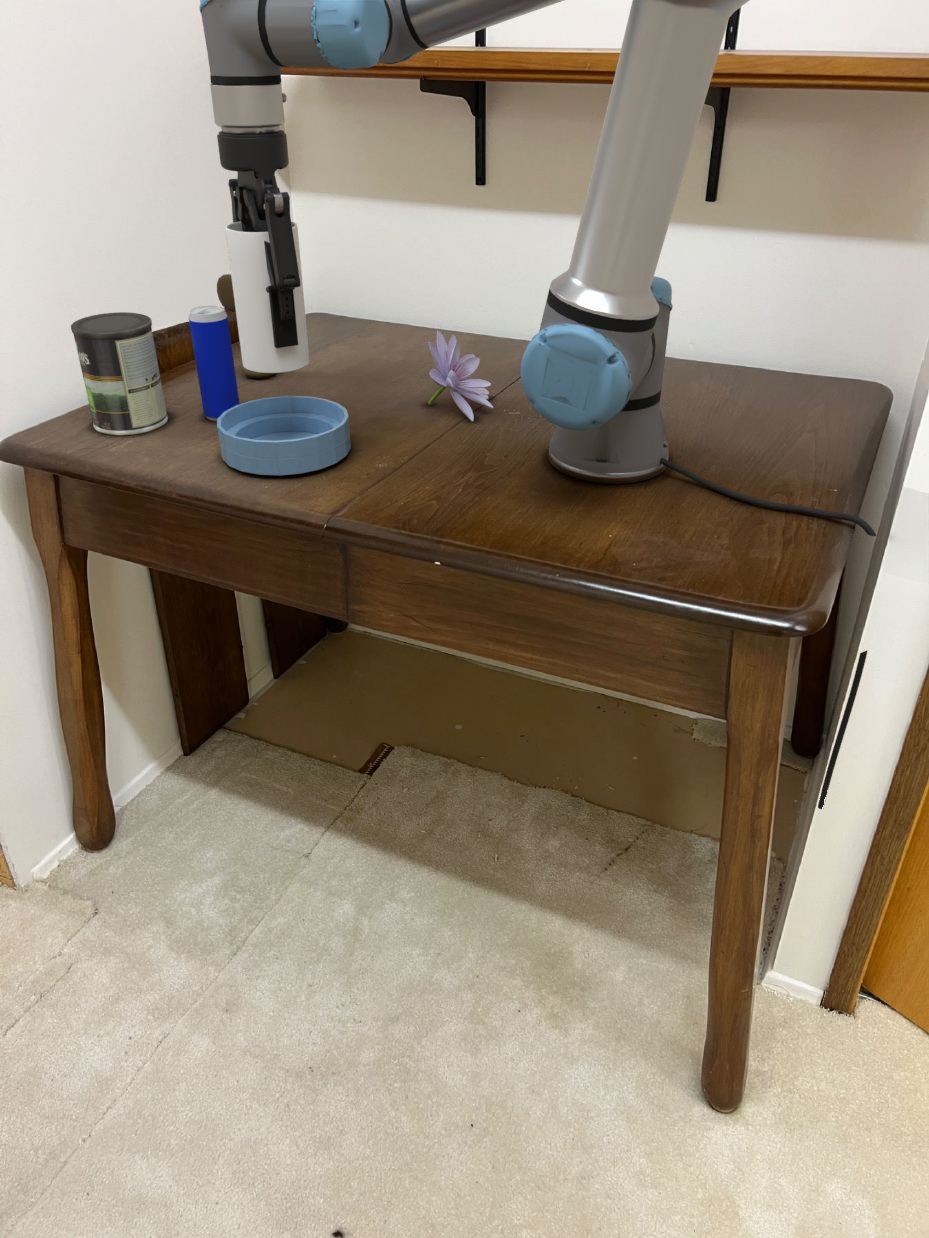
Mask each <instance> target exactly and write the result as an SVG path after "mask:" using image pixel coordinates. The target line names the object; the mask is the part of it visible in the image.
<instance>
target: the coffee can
mask: <svg viewBox="0 0 929 1238" xmlns="http://www.w3.org/2000/svg"><path fill="white" fill-rule="evenodd" d="M152 327H153V322H152V318H151V317H149V316H148V315H145V314H142V313H138V312H122V311H121V312H120V311H119V312H106V313H99V314H92V315H89V316H85V317H82V318H80V319H77V320H75V321H73V322H72V323H71V325H70V330H71V333H72V334H73V339H74V343H75V348H76V352H77V355H78V360H79V365H80V370H81V374H82V377H83V379H82V380H83V384H84V387H85V391H86V396H87V400H88V405H89V408H90V414H91V419H92V425H93V428H94V430H95V431H96V432H98V433H101V434H105V435H109V436H133V435H140V434H144V433H148V432H152V431H154V430H157V429H159V428H161V427H163V426H164V425H166V424H167V423H168V420H169V416H168V413H167V407H166V402H165V395H164V390H163V385H162V379H161V372H160V368H159V362H158V357H157V350H156V346H155V339H154V334H153V328H152Z"/></svg>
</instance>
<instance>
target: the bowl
mask: <svg viewBox="0 0 929 1238" xmlns="http://www.w3.org/2000/svg"><path fill="white" fill-rule="evenodd" d="M216 429H217V436H218V440H219V441H218V442H219V448H220V456H221V459H222V460H223V461H224V463H225V464H226V465H227V466H228V467H230V468H233V469H235V470H237V471H239V472H243V473H248V474H253V475H259V476H289V475H290V476H291V475H301V474H305V473H312V472H315V471H319V470H322V469H323V470H324V469H326V468H327V467H330V466H333V465H335V464H337V463H339V462H340V461H341V460H343V459H344V458H346V457H347V456H348V454H349V452H350V450H351V449H352V443H351V430H350V418H349V412H348V410H347V408H345V407H344V406H343V405H342V404H340V403H338V402H336V401H332V400H330V399H326V398H322V397H317V396H309V395H281V396H269V397H264V398H259V399H252V400H248V401H246V402H242V403H240V404H239V405H236V406H234V407H232V408H230V409H228V410H227V411H225V412H223V413H222V415H221V416H220V417H219V418H218V419H217V421H216Z"/></svg>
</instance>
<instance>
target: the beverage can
mask: <svg viewBox="0 0 929 1238" xmlns="http://www.w3.org/2000/svg"><path fill="white" fill-rule="evenodd" d="M188 324H189V329H190V336H191V342H192V348H193V349H192V350H193V355H194V362H195V366H196V372H197V373H196V374H197V380H198V386H199V390H200V391H199V392H200V398H201V404H202V405H201V406H202V411H203V415H204V417H206V419H208V420H210V421H212V422H217V419H218V418H219V417H220V416H221V415H222V413H223V412H225V411H227V410H228V409H230V408H232V407H234V406H236V405H239V404H241V403H240V397H239V389H238V382H237V375H236V368H235V359H234V353H233V346H232V339H231V332H230V324H229V317H228V314H227V312H226V308H225V307H223V306H219V305H202V306H197V307H193V308H191V309H190V310H189V314H188Z"/></svg>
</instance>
